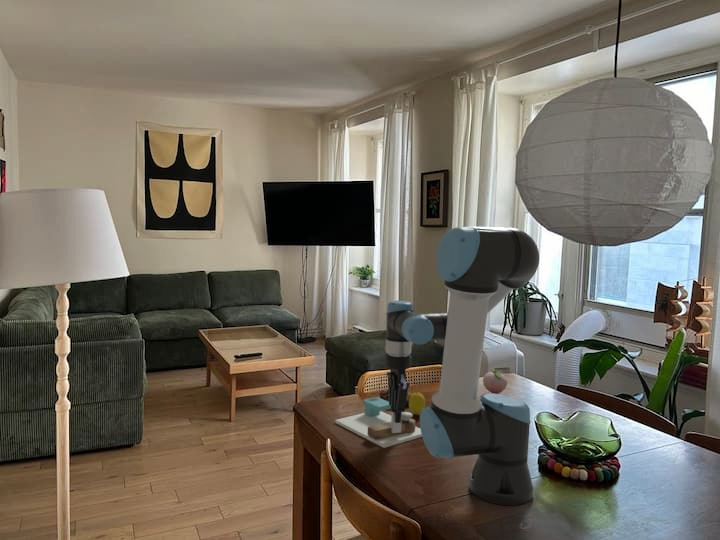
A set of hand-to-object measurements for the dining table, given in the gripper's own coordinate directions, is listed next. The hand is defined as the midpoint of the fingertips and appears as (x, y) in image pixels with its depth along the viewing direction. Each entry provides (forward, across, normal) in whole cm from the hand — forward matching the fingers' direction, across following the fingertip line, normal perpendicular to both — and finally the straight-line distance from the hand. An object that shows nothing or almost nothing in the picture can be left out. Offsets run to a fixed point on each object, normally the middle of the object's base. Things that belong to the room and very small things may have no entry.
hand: (396, 431), depth 171 cm
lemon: (+3, +20, -14) cm, 24 cm away
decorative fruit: (+3, +35, -51) cm, 62 cm away
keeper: (+3, +18, 0) cm, 18 cm away
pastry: (+3, +33, -12) cm, 35 cm away
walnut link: (+1, +3, 0) cm, 4 cm away
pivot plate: (+3, +10, +2) cm, 10 cm away
